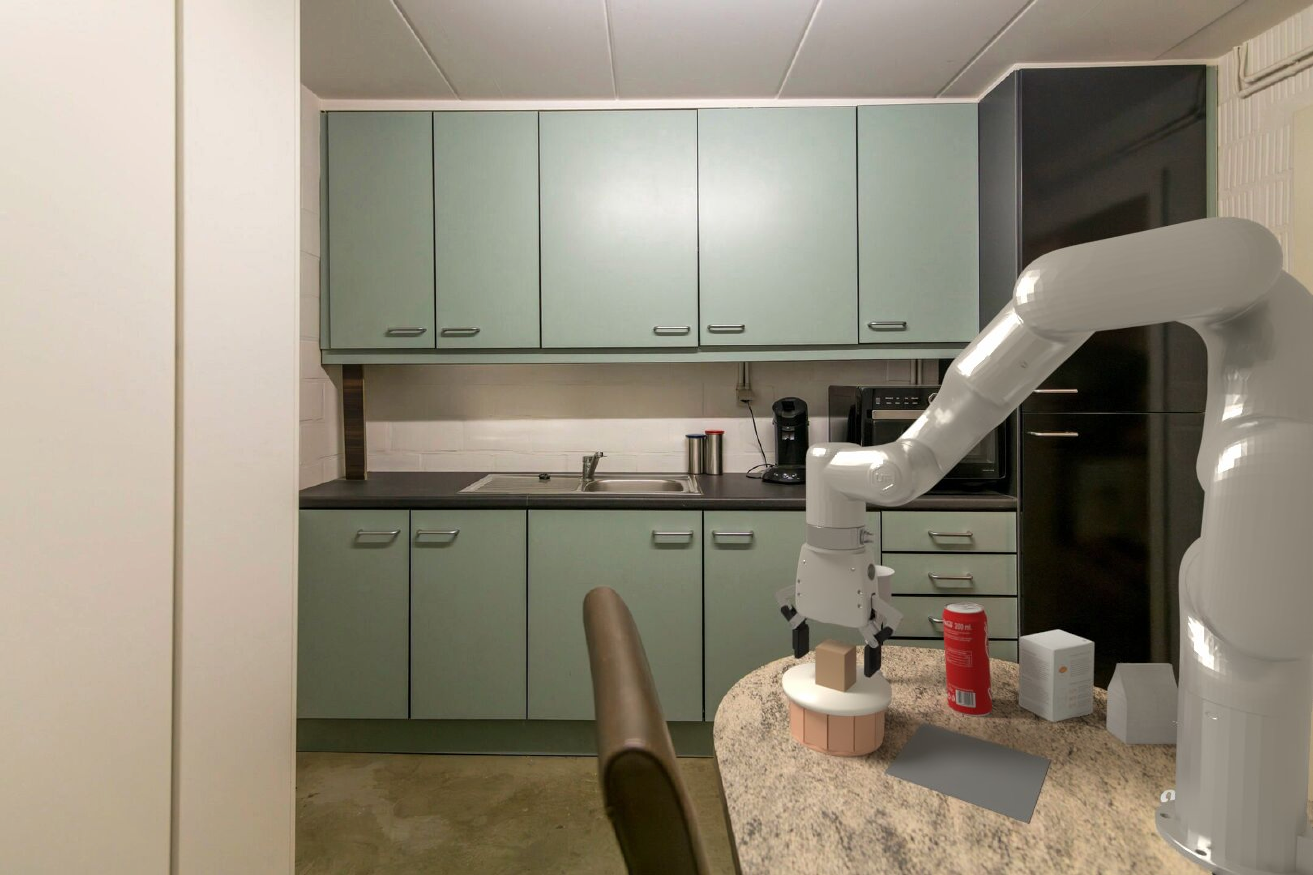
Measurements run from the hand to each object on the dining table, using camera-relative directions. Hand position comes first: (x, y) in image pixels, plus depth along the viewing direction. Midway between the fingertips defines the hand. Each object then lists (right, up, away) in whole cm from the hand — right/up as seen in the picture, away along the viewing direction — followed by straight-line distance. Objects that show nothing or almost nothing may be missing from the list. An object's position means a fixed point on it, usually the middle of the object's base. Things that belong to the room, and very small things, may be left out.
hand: (835, 664), depth 85 cm
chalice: (+10, -9, +16) cm, 21 cm away
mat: (+14, -10, -8) cm, 19 cm away
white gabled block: (+39, -9, -2) cm, 41 cm away
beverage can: (+21, -9, +7) cm, 24 cm away
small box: (+33, -9, +6) cm, 35 cm away
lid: (0, -4, 0) cm, 4 cm away
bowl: (0, -10, +1) cm, 10 cm away
